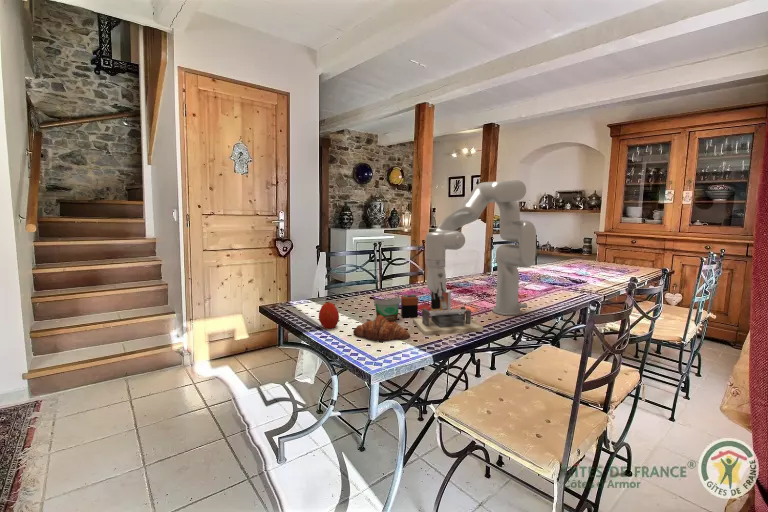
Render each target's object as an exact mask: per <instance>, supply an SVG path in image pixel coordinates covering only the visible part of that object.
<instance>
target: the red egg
mask: <svg viewBox="0 0 768 512" xmlns="http://www.w3.org/2000/svg"><path fill="white" fill-rule="evenodd" d="M339 320H340V314H339V311H338V309H337V307H336V305H335V304H334V302H333V303H332V302H330V301H328V302H325V303H324V304H322V306H321V308H319V312H318V321H319V323H320V326H321V327H323V328H324V329H327V330H328V329H329V330H333V329H335V328H336V327H337V325H338V323H339Z"/></svg>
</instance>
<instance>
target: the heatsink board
mask: <svg viewBox="0 0 768 512" xmlns="http://www.w3.org/2000/svg"><path fill="white" fill-rule="evenodd" d="M460 309H466V306H460ZM429 311H430V310H428V309H427V308H422V311H421V312H422V313H421V314H422V315H421V316H422V318H413V319H412V323H413V324H414V326H416V327H417V329H418V330H420V332H421V333H422V334H423V335H424V336H434V335H444V334H445V335H446V334H461V333H462V332H463V333H475V332H483V331H484V328H485V327H484V326H482V325H481V324H479V323H478V322H477V321H474V320H473V319H472V310H470V309H466V314H453V315H439V316H429Z"/></svg>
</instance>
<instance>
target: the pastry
mask: <svg viewBox="0 0 768 512" xmlns="http://www.w3.org/2000/svg"><path fill="white" fill-rule="evenodd" d="M352 332H353V336H357V337H358V338H362V339H364V338H365V339H368V340H370V341H371V340H372V341H375V342H388V341H394V340H397V341H399V340H407V339H408V338H410V337H411V335H410V332H409V330H407V329H405V328H403V327H402V326H401V324H398V322H397V321H396V322H389V321H388V320H386V319H385V318H384V316H382V315H379V316H375V319H374V320H367V321H366V322H364V323H362V324H360V325H357V326H356V327H354V329H353V331H352Z"/></svg>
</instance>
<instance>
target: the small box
mask: <svg viewBox="0 0 768 512" xmlns="http://www.w3.org/2000/svg"><path fill="white" fill-rule="evenodd" d="M430 298H431V297H430ZM431 299H432V298H431ZM451 299H452V290H451V289H446V292H445V293H444V292H442V297H441V298H440V309H432V308H431V307H430V311H437V310H451V302H452V300H451Z"/></svg>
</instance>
